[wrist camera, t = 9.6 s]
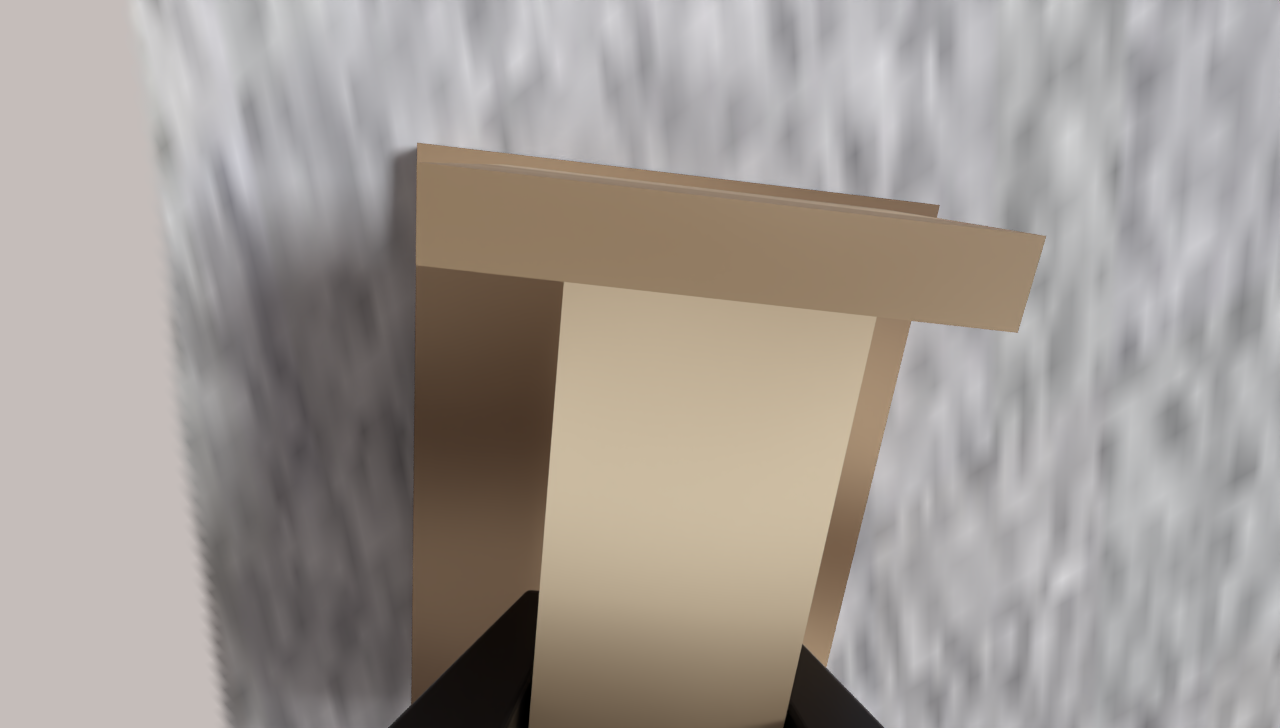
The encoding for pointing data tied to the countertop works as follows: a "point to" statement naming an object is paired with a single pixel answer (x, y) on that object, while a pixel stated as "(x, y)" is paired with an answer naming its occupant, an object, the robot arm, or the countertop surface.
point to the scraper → (699, 414)
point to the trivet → (522, 431)
